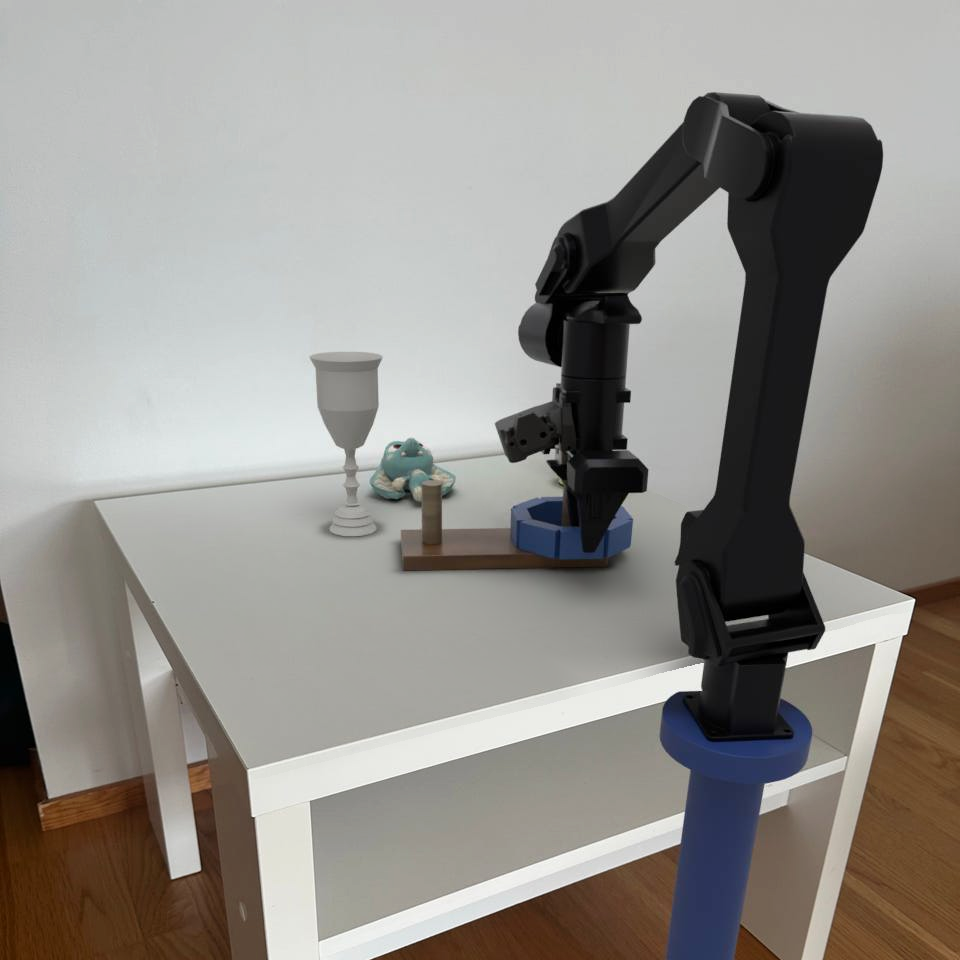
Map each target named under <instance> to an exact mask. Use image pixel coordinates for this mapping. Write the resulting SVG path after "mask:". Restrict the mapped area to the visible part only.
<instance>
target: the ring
mask: <svg viewBox="0 0 960 960" xmlns="http://www.w3.org/2000/svg"><path fill="white" fill-rule="evenodd" d="M562 504H563V496H541V497H534V498H531V499H528V500H526V501H523V502H520V503H518V504H515V505H514V504H513V506H512V507H511V508H510V524H509V525H510V527H509V528H510V534H511V537H512V539H513V541H514V544H515V546H516V547H519V549H520V550H524V551H528V552H531V553H535V554H538V555H542V556H545V557H549V558H552V559H555V558H557V557H559V559H560V560H565V559H602V558H603V557H606V558H608V559H609V558H611V557H612V556H615V555H617V554H619V553H622V552H624V551H625V550H627V549H630V548H631V545H632V538H633V525H634V518H633V516H632V515H631V514H630V513H629V511H627V509H626V508H625V507H624V506H623V505H621V507H620V508H619V510H618V512H617V513H616V515H615V517H614V519H613V520H612V522H611V524H610V526H609V527H608V529H607V531H606V533H605V535H604V536H603V538H602V540H601V542H600V544H599V546H598V547H597V549H596V551H595V552H594V553H584V552H583V550H582V542H581V534H580V527H561V521H562Z"/></svg>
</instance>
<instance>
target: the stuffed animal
mask: <svg viewBox="0 0 960 960" xmlns="http://www.w3.org/2000/svg"><path fill="white" fill-rule="evenodd" d="M456 477H457V476H456V475H455V474H453V473H451V472H450V471H448V470H446V469H444V468H441V467H440V466H438V465H436V464H434V456H433V453H432V451H431V449H430V448H429V447H427V446H426V445H425V444H423V443H422V442H421V441H419V440H416V438H414V437H408V438H407V439H406V440H405V441H400V440H394V441H391V442H389V443H388V444H387V445H386V446H385V449H384V452H383V456H382V457H381V459H380V463H379V466H378V467H377V468H376V469H375V471H374V473H373V474H372V476H371V477H370V478H369V479H370V480H369V484H370V486H371V488H372V490H373V491H374V492H375V493H377V494H378V495H379V496H381V497H383V498H384V499H387V500H399V499H403V498H404V497H405V496H406V492H405V491H406V490H408V491H410V493H411V494H412V498H413V500H414V501H415V502H419V503H421V502H422V490H421V483H422V482H424V481H428V480H435V481H440V482H442V496H445V495H447V494H448V493H449V492H450V491H451V490H452V488H453V486H454V485H455V483H456Z"/></svg>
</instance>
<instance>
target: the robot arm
mask: <svg viewBox="0 0 960 960" xmlns="http://www.w3.org/2000/svg"><path fill="white" fill-rule="evenodd" d="M883 164H884V146H883V141H882V140H881V139H878V136H877V135H876V133H875V130H874V128H873V126H872V125H871V123H869V122H868V121H867V120H866V119H865V118H864V117H859V116H855V115H854V116H853V115H841V114H840V115H839V114H824V113H810V112H809V113H807V112H799V111H795V110H792V109H788V108H785V107H782V106H780V105H778V104H776V103H773V102H772V101H769V100H766V99H765V98H764V97H762V96H761V95H759V94H743V93H732V92H730V93H729V92H716V91H714V92H712V91H711V92H706V93H705V94H704V95H703V96H701V95H698V96H697V97H696V98H694V99H693V100H692V101H691V103H690V104H689V106H688V107H687V109H686V112H685V115H684V118H683V121H682V123H680V125H679V126H678V127H677V128H676V129H675V130H674V131H673V132H672V133H671V135H670V136H669V137H668V138H667V139H666V140H665V141H664V142H663V143H662V144H661V146H659V148H658V149H657V150H656V151H655V152H654V153H653V154H652V155H651V157H649V159H647V160H646V162H645V163H644V164H643V165H642V166H641V167H640V168H639V169H638V171H637V172H636V173H635V174H634V175H633V176H632V177H631V178H630V179H629V180H628V181H627V183H625V185H624V186H623V187H622V188H621V189H620V190H619V191H618V192H617V193H616V194H615V196H613V197H612V198H610V199H609V200H607V201H605V202H602V203H599V204H596V205H592V206H589V207H587V208H584V209H581V210H580V211H579V212H577V213H575V214H574V215H573V216H571V217H570V218H568V219H567V220H566V221H565V222H563V224H562V225H561V226H560V228H559V229H558V231H557V234H556V236H555V237H554V239H553V241H552V243H551V247H550V248H549V249H550V250H549V253H548V254H547V255H548V256H547V259H546V260H545V262H544V264H543V267H542V269H541V271H540V273H539V275H538V277H537V279H536V282H535V284H534V285H535V290H536V291H535V294H534V302H535V303H534V304H532V305H531V306H529V307H528V309H526V311H525V312H524V314H523V316H522V318H521V320H520V323H519V325H518V329H517V334H518V342H519V344H520V347H521V349H522V351H523V352H524V354H525V355H526V356H528V358H530V359H532V360H534V361H536V362H539V363H542V364H546V365H550V366H554V367H558V368H560V369H561V370H560V371H561V372H560V382H559V383H557V382H556V383H555V386H554V387H553V388H552V397H551V398H552V399H551V401H548V402H545V403H542V404H540V405H539V404H538V405H536V406H533V407H530V408H527V409H524V410H522V411H519V412H517V413H514V414H511V415H508V416H506V417H503V418H501V419H498V420H497V421H496V422H494V426H495V429H496V432H497V436H498V437H499V438H498V439H499V441H500V444H501V447H502V450H503V453H504V456H505V457H506V458H507V460H508V462H509V463H510V464H515V463H520V462H523V461H526V460H527V458H528V457H529V456H533V455H534V454H537V453H540V452H541V453H542V455H550V453H551V450H554V459H546V461H545V462H546V464H547V465H548V467H549V468H550V469H551V470H552V472H553V473H555V474H556V476H557V477H558V478H559V477H560V478H561V480H562V483H563V485H562V487H564V491H565V496H566V501H567V507H568V512H569V518H570V523H571V527H580V534H581V542H582V550H583V552H584V553H594V552H595V551H596V549H597V547H598V546H599V544H600V542H601V540H602V538H603V536H604V535H605V533H606V531H607V529H608V527H609V526H610V524H611V522H612V520H613V519H614V517H615V515H616V513H617V512H618V510H619V508H620V507H621V506H623V504H624V502H625V500H626V499H627V497H628V495H629V494H643V493H646V492H647V491H648V480H649V470H650V469H649V468H648V467H647V466H646V465H645V464H644V463H643V462H642V461H641V460H640V458H639V457H637V456H636V454H634V453H632V452H631V451H630V450H628V440H629V439H628V438H627V437H626V436H625V435H624V434H623V426H624V425H623V424H624V413H625V412H624V410H625V404H630V403H631V401H632V399H631V397H632V390H630V389H629V388H627V387H626V383H627V382H626V381H627V371H628V370H627V369H628V354H629V343H630V342H629V340H630V327H631V326H630V325H640V324H641V323H642V320H643V317H642V315H641V313H640V311H639V309H638V308H637V307H636V306H634V304H633V303H632V302H631V300H630V297H629V294H631V293H632V292H634V291H635V290H637V289H638V287H639V286H640V285H641V283H642V282H643V281H644V280H645V278H646V277H647V276H648V275H649V273H650V272H651V271H652V270H653V269H654V267H655V265H656V261H657V260H656V248H657V247H658V246H659V245H660V243H661V242H662V241H663V240H664V239H665V238H666V237H667V236H668V235H670V234H671V233H672V232H673V231H675V229H676V228H678V226H679V225H680V224H682V223H683V222H684V221H685V220H686V219H687V218H688V217H689V216H691V215H692V214H693V213H694V212H695V211H696V210H697V209H699V208H700V206H702V204H704V203H705V202H706V201H707V200H708V199H710V197H712V195H714V194H715V193H716V192H717V191H718V190H719V189H722V190H723V191H725V192H726V193H727V219H726V220H727V221H726V224H727V225H726V226H727V230H728V233H729V236H730V238H731V241H732V243H733V245H734V248H735V250H736V254H737V255H738V259H739V260H740V263H741V265H742V268H743V270H744V273H745V276H744V288H743V294H742V302H741V309H740V316H739V323H738V330H737V338H736V344H735V351H734V358H733V364H732V365H733V366H732V374H731V380H730V387H729V394H728V399H727V400H728V401H727V407H726V408H727V410H726V414H725V415H726V416H725V423H724V428H723V429H724V430H723V437H722V443H721V451H720V458H719V465H718V472H717V479H716V486H715V491H714V494H713V497H712V498H711V499H710V500H709V502H708V503H707V505H705V507H704V508H703V509H699V510H691V511H686V512H685V514H684V516H683V518H682V520H681V523H680V540H679V548H678V553H677V555H676V557H675V560H674V565H675V566H678V570H677V573H676V577H675V588H676V598H677V599H676V601H677V612H678V623H679V632H680V634H679V635H680V640H681V643H683V644H684V645H686V646H687V647H688V648H687V649H688V650H687V654H688V655H689V656H691V658H696V659H700V660H703V669H702V676H701V683H700V688H701V690H699V691H700V694H685V695H684V696H683V703H684V704H685V706H686V708H687V709H688V711H689V713H690V714H691V716H692V717H693V719H694V721H695V722H696V724H697V725H698V727H699V729H700V730H701V732H702V733H703V735H704V737H705V738H706V740H708V741H710V742H735V741H760V740H785V739H792V738H793V737H794V730H793V729H792V728H791V727H790V725H789V724H788V723H787V722H786V720H785V719H784V718H783V717H782V715H781V714H780V713H779V712H778V709H779V703H780V698H781V697H782V691H783V685H784V679H785V675H786V673H785V672H786V668H787V663H788V658H789V653H794V652H800V651H805V650H807V651H812V650H815V649H817V647H818V646H819V643H820V641H821V640H822V638H823V636H824V634H825V632H826V625H825V623H824V620H823V618H822V615H821V612H820V610H819V608H818V605H817V603H816V600H815V598H814V595H813V592H812V590H811V588H810V586H809V583H808V581H807V578H806V575H805V573H804V567H805V566H804V564H805V563H804V562H805V551H806V550H805V547H806V546H805V545H806V540H805V538H804V537H805V536H804V535H803V533H802V531H801V528H800V526H799V523H798V521H797V518H796V516H795V513H794V511H793V509H792V507H791V496H792V495H791V494H792V490H793V483H794V477H795V473H796V472H795V471H796V465H797V462H798V461H797V460H798V455H799V451H800V450H799V449H800V445H801V443H800V442H801V438H802V434H803V433H802V432H803V428H804V427H803V426H804V422H805V415H806V410H807V405H808V400H809V399H808V398H809V393H810V387H811V381H812V377H813V370H814V365H815V360H816V359H815V358H816V355H817V348H818V344H819V343H818V342H819V337H820V331H821V326H822V320H823V316H824V315H823V314H824V310H825V309H824V308H825V304H826V303H825V302H826V298H827V292H828V287H829V282H830V279H831V278H832V275H834V274H835V272H836V271H837V269H838V268H839V266H840V265H841V264H842V262H843V261H844V260H845V258H846V257H847V256H848V254H849V253H850V251H851V250H852V249H853V248H854V246H855V245H856V243H857V242H858V240H859V239H860V238H861V236H862V235H863V234H864V231H865V229H866V225H867V222H868V219H869V216H870V212H871V209H872V205H873V202H874V199H875V196H876V193H877V189H878V186H879V182H880V180H881V176H882V171H883V167H884V166H883ZM764 616H767V618H766V619H760V620H754V621H747V622H742V623H741V622H740V623H735V624H729V625H727V624H726V623H727V622H733V621H739V620H746V619H752V618H757V617H758V618H759V617H764Z"/></svg>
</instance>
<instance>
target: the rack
mask: <svg viewBox="0 0 960 960" xmlns="http://www.w3.org/2000/svg"><path fill="white" fill-rule="evenodd" d="M562 487H563V488H562V489H563V490H562V497H563V504H562V521H561V527H571V523H570V518H569V512H568V507H567V501H566V496H565V491H564V486H562ZM421 490H422V501H421V529H420V528H419V529H401V530H400V547H401V548H400V549H401V560H402V570H403V571H440V570H441V571H445V570H446V571H447V570H448V571H449V570H453V571H454V570H493V569H494V570H495V569H496V570H497V569H500V570H501V569H543V568H544V569H547V568H550V569H551V568H593V567H595V568H596V567H598V568H599V567H607V566H608V560H609V558H606V557H603V558H602V559H565V560H560V559H559V557H557V558H555V559H552V558H549V557H545V556H542V555H538V554H535V553H531V552H528V551H524V550H520V549H519V547H516V546H515V544H514V541H513V539H512V537H511V534H510V527H497V528H496V527H493V528H492V527H491V528H489V527H487V528H443V495H442V482H440V481H435V480H428V481H424V482H422V483H421Z"/></svg>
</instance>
